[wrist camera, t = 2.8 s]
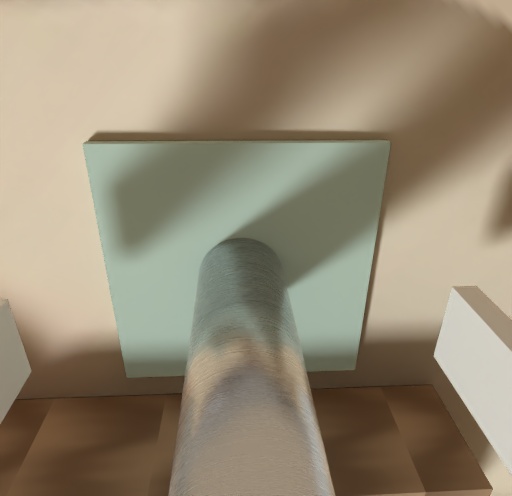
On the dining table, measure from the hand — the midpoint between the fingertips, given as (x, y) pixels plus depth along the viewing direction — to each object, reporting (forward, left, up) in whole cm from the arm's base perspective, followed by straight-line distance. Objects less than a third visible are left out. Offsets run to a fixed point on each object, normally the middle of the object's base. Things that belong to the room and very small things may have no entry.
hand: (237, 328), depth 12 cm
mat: (0, 0, -4) cm, 4 cm away
